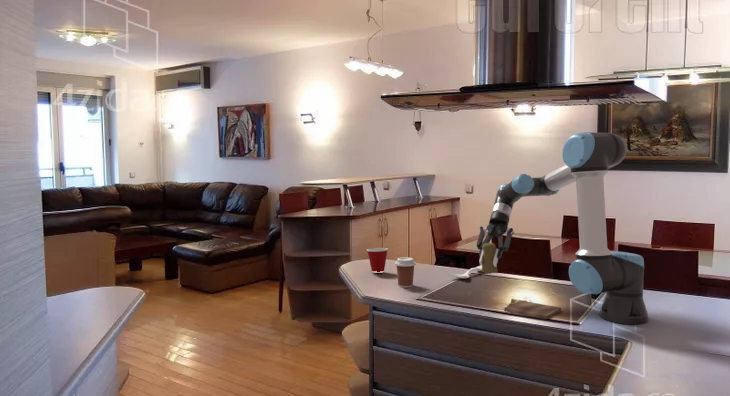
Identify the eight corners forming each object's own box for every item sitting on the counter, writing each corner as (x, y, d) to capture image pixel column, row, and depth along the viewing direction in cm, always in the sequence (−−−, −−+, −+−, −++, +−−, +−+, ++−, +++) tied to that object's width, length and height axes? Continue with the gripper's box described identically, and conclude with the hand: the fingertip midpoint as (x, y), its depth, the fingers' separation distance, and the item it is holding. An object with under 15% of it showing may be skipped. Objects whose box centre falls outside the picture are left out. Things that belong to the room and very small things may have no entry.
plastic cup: (380, 269, 273) (380, 245, 272) (393, 273, 264) (392, 248, 263) (362, 272, 267) (361, 248, 266) (374, 276, 258) (374, 251, 257)
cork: (497, 273, 208) (497, 244, 207) (481, 272, 209) (481, 244, 208) (497, 269, 214) (496, 242, 213) (481, 269, 215) (481, 241, 214)
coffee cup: (415, 288, 234) (415, 261, 233) (394, 288, 236) (393, 260, 235) (416, 283, 243) (416, 256, 242) (396, 282, 245) (396, 256, 244)
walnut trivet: (560, 310, 200) (560, 307, 200) (546, 319, 190) (546, 316, 190) (519, 303, 210) (519, 300, 210) (504, 310, 200) (504, 307, 200)
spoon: (448, 280, 250) (448, 272, 250) (482, 268, 274) (482, 261, 274) (465, 283, 244) (465, 275, 244) (498, 270, 268) (498, 263, 268)
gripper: (523, 223, 220) (512, 271, 207) (481, 221, 229) (467, 267, 216) (520, 211, 215) (508, 260, 202) (477, 210, 224) (463, 256, 211)
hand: (487, 264), depth 209 cm, fingers closed on cork, 5 cm apart
